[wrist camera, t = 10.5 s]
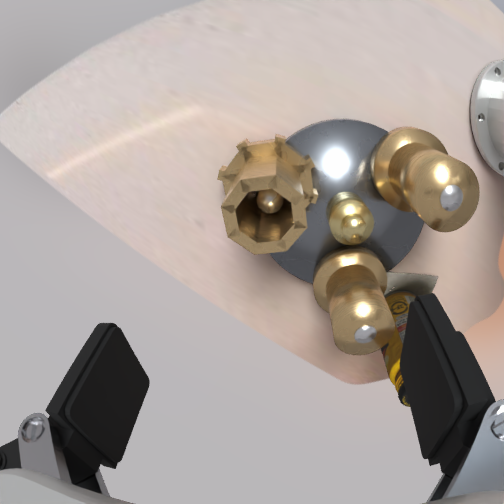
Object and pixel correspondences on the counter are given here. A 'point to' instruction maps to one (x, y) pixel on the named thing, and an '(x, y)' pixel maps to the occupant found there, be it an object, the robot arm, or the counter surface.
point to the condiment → (402, 319)
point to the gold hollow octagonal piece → (261, 178)
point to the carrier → (369, 217)
